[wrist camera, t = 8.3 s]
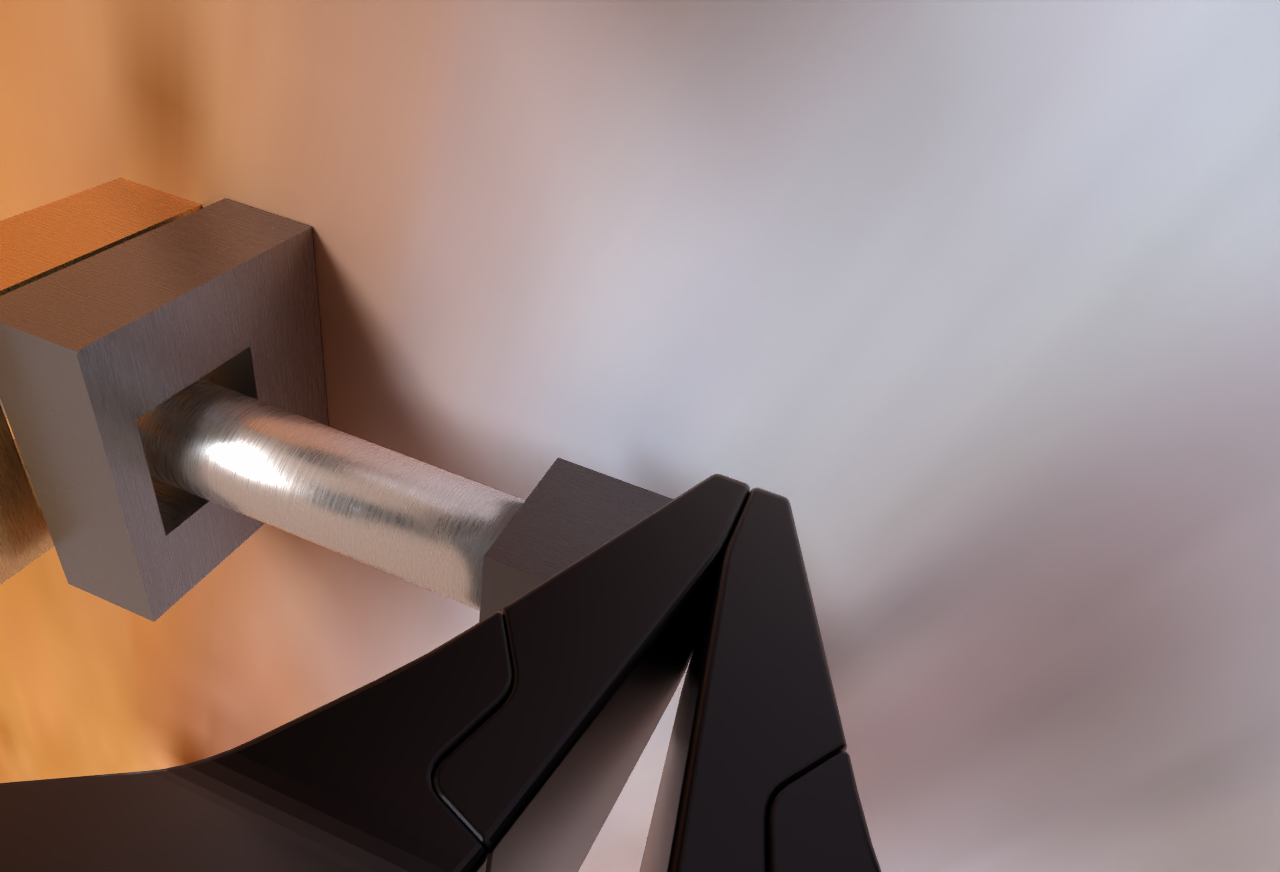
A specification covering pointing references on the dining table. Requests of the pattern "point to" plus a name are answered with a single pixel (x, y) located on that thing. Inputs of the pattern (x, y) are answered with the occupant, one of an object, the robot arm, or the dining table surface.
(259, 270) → the pillow block
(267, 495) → the shaft
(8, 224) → the spacer
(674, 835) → the robot arm
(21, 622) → the dining table surface
